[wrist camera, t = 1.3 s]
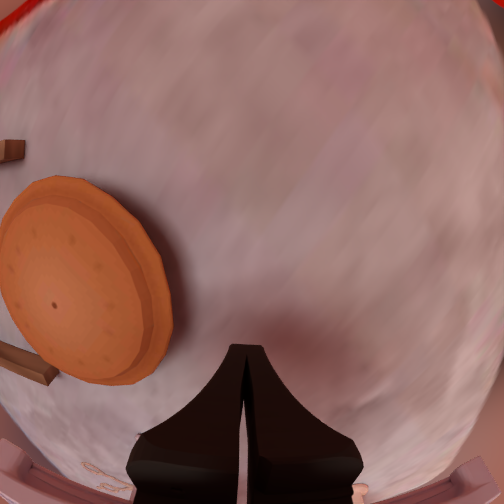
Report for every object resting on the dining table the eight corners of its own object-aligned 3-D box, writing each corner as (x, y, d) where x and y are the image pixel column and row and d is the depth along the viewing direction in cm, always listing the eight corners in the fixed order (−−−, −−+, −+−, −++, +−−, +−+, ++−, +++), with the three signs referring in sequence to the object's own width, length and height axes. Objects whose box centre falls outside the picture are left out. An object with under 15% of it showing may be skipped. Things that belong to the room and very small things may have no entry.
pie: (10, 193, 17) (-31, 203, 12) (170, 156, 17) (142, 152, 12) (52, 352, 21) (26, 381, 16) (200, 362, 21) (190, 407, 16)
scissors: (70, 458, 27) (193, 486, 27) (72, 455, 28) (193, 482, 28) (97, 488, 30) (205, 510, 30) (98, 485, 31) (206, 506, 31)
